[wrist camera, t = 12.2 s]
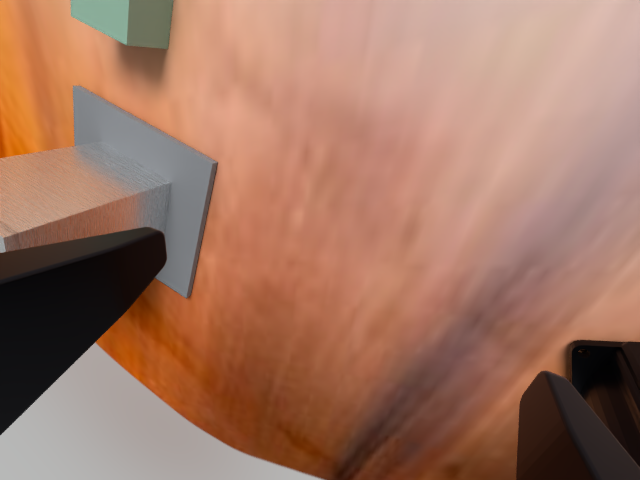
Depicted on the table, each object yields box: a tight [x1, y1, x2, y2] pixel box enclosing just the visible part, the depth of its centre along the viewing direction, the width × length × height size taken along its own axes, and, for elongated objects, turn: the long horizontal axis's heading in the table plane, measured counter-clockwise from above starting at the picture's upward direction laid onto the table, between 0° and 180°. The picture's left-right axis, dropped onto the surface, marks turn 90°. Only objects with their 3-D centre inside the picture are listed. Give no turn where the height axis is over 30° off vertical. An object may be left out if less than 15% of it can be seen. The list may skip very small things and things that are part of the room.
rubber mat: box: [73, 86, 218, 298], centre depth 26 cm, size 12×12×1 cm
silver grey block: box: [0, 142, 172, 253], centre depth 22 cm, size 6×6×10 cm
